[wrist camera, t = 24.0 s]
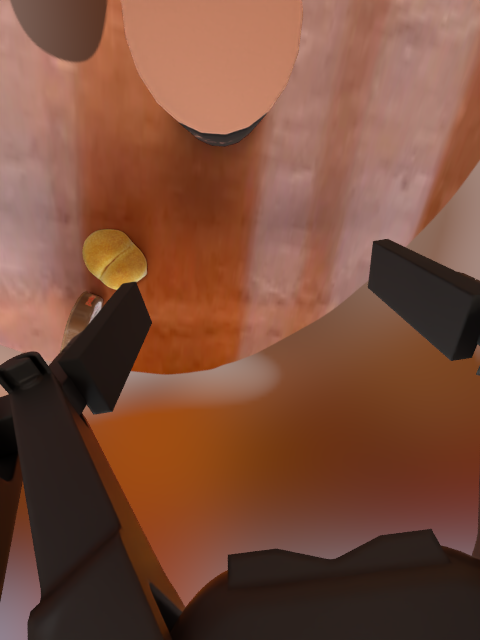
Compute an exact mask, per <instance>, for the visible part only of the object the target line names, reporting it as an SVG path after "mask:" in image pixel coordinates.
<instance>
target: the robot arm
mask: <svg viewBox="0 0 480 640" xmlns="http://www.w3.org/2000/svg"><path fill="white" fill-rule="evenodd" d="M368 288H369V289H370V290H371V291H372V292H373V293H375V294H376V295H377V296H378V297H379V298H380V299H382V301H384V302H385V303H386V304H387V305H388V306H389V307H390V308H392V309H393V310H394V311H395V312H396V313H397V314H398V315H400V316H401V317H402V318H403V319H404V320H405V321H406V322H407V323H409V324H410V325H411V326H412V327H413V328H414V329H416V330H417V331H418V332H419V333H420V334H421V335H422V336H423V337H425V338H426V339H427V340H428V341H429V342H430V343H431V344H432V345H434V346H435V347H436V348H437V349H438V350H439V351H440V352H442V353H443V354H444V355H445V356H446V357H447V358H449V359H450V360H451V361H453V360H460V359H466V358H472V356H473V354H474V351H475V349H476V346H477V344H478V345H479V346H480V281H479V280H475V278H473V277H471V276H468V275H466V274H464V273H460V272H456V271H454V270H452V269H449V268H447V267H445V266H443V265H441V264H439V263H437V262H435V261H433V260H431V259H429V258H426V257H424V256H422V255H420V254H418V253H416V252H414V251H412V250H410V249H408V248H406V247H403V246H401V245H399V244H397V243H395V242H393V241H391V240H389V239H384V240H378V241H373V247H372V256H371V265H370V274H369V283H368ZM151 324H152V321H151V319H150V316H149V314H148V311H147V309H146V306H145V303H144V301H143V298H142V296H141V293H140V291H139V288H138V286H137V283H136V281H135V282H129V283H123V284H122V285H121V286H120V287H119V288H118V289H117V291H116V292H115V293H114V294H113V295H112V297H111V298H110V299H109V300H108V301H107V303H106V304H105V305H104V306H103V307H102V309H101V310H100V311H99V312H98V314H97V315H96V316H95V317H94V318H93V320H92V321H91V322H90V323H89V324H88V326H87V327H86V328H85V329H84V330H83V331H81V332H80V333H79V334H77V335H76V336H75V337H73V338H72V339H71V340H70V342H69V343H68V344H67V346H66V347H64V349H63V350H62V351H61V353H59V354H58V356H57V357H56V358H55V359H54V360H53V361H52V363H51V364H50V365H49V366H48V365H47V364H46V362H45V361H44V359H43V358H42V357H41V355H40V354H39V353H38V352H27V353H23V354H20V355H18V356H15V357H13V358H11V359H9V360H7V361H6V362H4V363H3V364H2V365H0V384H1V385H2V387H3V388H4V389H5V390H6V391H7V392H8V393H9V395H6V396H3V397H0V600H1V595H2V590H3V584H4V579H5V573H6V568H7V563H8V557H9V552H10V546H11V541H12V535H13V530H14V525H15V519H16V513H17V509H18V503H19V498H20V493H21V487H22V482H23V483H24V489H25V496H26V502H27V508H28V514H29V520H30V526H31V533H32V538H33V545H34V551H35V556H36V562H37V569H38V575H39V581H40V588H41V600H40V603H39V604H38V605H37V606H36V607H35V608H34V609H33V610H32V611H31V612H30V616H29V620H28V640H480V479H479V517H478V518H479V519H478V535H477V541H476V544H475V547H474V551H473V553H472V556H470V555H468V554H466V553H463V552H461V551H458V550H454V549H452V548H448V547H445V546H441V545H440V544H439V542H438V540H437V538H436V537H435V535H434V533H433V531H432V529H427V530H420V531H412V532H404V533H396V534H388V535H381V536H378V537H377V538H375V539H373V540H371V541H369V542H367V543H365V544H363V545H361V546H359V547H357V548H356V549H354V550H352V551H350V552H348V553H346V554H344V555H342V556H340V557H338V558H336V559H324V558H319V557H315V556H310V555H305V554H300V553H295V552H290V551H285V550H280V549H270V550H262V551H255V552H247V553H239V554H231V555H228V570H227V571H225V572H223V573H221V574H220V575H218V576H217V577H215V578H214V579H213V580H211V581H210V582H209V583H207V584H206V585H205V586H204V587H203V588H202V589H201V590H200V591H199V592H198V593H197V594H196V596H195V597H194V598H193V599H192V600H191V601H190V602H189V604H188V605H187V606H186V608H185V606H184V605H183V602H182V601H181V599H180V597H179V595H178V594H177V592H176V590H175V589H174V587H173V586H172V584H171V583H170V581H169V580H168V578H167V576H166V574H165V573H164V571H163V569H162V567H161V565H160V563H159V561H158V559H157V557H156V555H155V553H154V551H153V550H152V547H151V545H150V543H149V542H148V540H147V538H146V536H145V534H144V532H143V530H142V528H141V526H140V524H139V522H138V520H137V518H136V516H135V514H134V512H133V510H132V508H131V506H130V504H129V502H128V500H127V498H126V496H125V494H124V492H123V490H122V489H121V486H120V484H119V482H118V481H117V479H116V477H115V475H114V473H113V471H112V469H111V467H110V465H109V463H108V461H107V459H106V457H105V455H104V453H103V451H102V449H101V447H100V445H99V443H98V441H97V439H96V437H95V435H94V433H93V432H92V429H91V427H90V425H89V424H88V422H87V420H86V418H85V417H84V415H83V414H82V412H83V410H84V408H85V406H86V405H87V406H88V407H89V408H90V410H91V411H92V413H93V414H100V413H107V412H112V411H113V409H114V407H115V404H116V402H117V400H118V398H119V396H120V393H121V391H122V389H123V387H124V384H125V382H126V380H127V378H128V376H129V373H130V371H131V369H132V367H133V364H134V362H135V360H136V358H137V355H138V353H139V351H140V349H141V346H142V344H143V342H144V340H145V338H146V335H147V333H148V331H149V329H150V326H151ZM476 375H480V366H479V369H478V371H477V373H476Z"/></svg>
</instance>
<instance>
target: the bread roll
mask: <svg viewBox="0 0 480 640" xmlns="http://www.w3.org/2000/svg"><path fill="white" fill-rule="evenodd" d="M82 253H83V259H84V262H85V264H86V266H87V268H88V270H89V271H90V272H91V273H92V274H93V275H94V276H96V277H97V278H98V279H100V280H101V281H102V282H103V283H104V284H105V285H106V286H108V287H110V288H113V289H118V288H119V287H120V286H121V285H122V284H123V283H129V282H135V281H136V282H137V281H139V280H141V279H142V278H143V277H144V276H145V275H146V274H147V262H146V259H145V257H144V255H143V253H142V252H141V250H140V249H138V248H137V247H136V246H135V245H134V244H133V243H132V241H131V240H130V239H129V237H128V236H127V235H126V234H125V233H123V232H121V231H119V230H113V229H103V230H98V231H95V232H93V233H92V234H91V235H90V236H89V237H88V238H87V239H86V240H85V242H84V245H83V251H82Z"/></svg>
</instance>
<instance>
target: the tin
mask: <svg viewBox="0 0 480 640" xmlns="http://www.w3.org/2000/svg"><path fill="white" fill-rule="evenodd" d="M102 306H103V299H102V298H101V297H99V296H97V295H94V294H91V293H88V292H87V291H85V292H83V293H82V294H81V296H80V297H79V298H78V300H77V302H76V303H75V305H74V307H73V309H72V311H71V313H70V316H69V319H68V321H67V324H66V328H65V332H64V337H63V341H62V346H61V351H62V350H63V349H64V347H66V346H67V344H68V343H69V342H70V340H71V339H72V338H73V337H75V336H76V335H77V334H79V333H80V332H81V331H83V330H84V329H85V328H86V327H87V326H88V324H89V323H90V322H91V321H92V320H93V318H94V317H95V316H96V315H97V314H98V312H99V311H100V310H101V309H102ZM61 351H60V353H61Z"/></svg>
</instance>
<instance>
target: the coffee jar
mask: <svg viewBox="0 0 480 640" xmlns="http://www.w3.org/2000/svg"><path fill="white" fill-rule="evenodd" d="M121 5H122V14H123V22H124V30H125V37H126V40H127V43H128V46H129V49H130V51H131V54H132V57H133V60H134V63H135V66H136V68H137V71H138V74H139V75H140V77H141V78H142V80H143V82H144V83H145V85H146V86H147V88H148V89H149V91H150V93H151V94H152V96H153V97H154V99H155V100H156V102H157V103H158V104H159V105H160V106H161V107H163V108H164V109H165V110H166V111H167V112H168V113H169V114H170V115H171V116H172V117H173V118H174V119H176V120H177V121H178V122H179V123H180V124H181V125H182V126H183V127H184V128H186V129H187V130H188V131H189V132H190V133H191V134H193V135H194V136H195V137H196V138H197V139H198V140H201V141H203V142H205V143H207V144H209V145H212V146H228V145H231V144H234V143H237V142H239V141H240V140H242V139H243V138H244V137H246V136H247V135H248V134H249V133H250V132H251V131H252V130H253V129H254V128H255V127H256V126H257V124H258V123H259V122H260V121H261V120H262V119H263V118H264V116H265V115H266V114H267V112H268V111H269V110H270V109H271V108H272V106H273V105H274V103H275V102H276V100H277V99H278V97H279V96H280V94H281V93H282V91H283V90H284V89H285V87H286V86H287V83H288V80H289V77H290V74H291V72H292V69H293V66H294V63H295V61H296V58H297V55H298V51H299V43H300V35H301V26H302V18H303V9H302V0H121Z"/></svg>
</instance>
